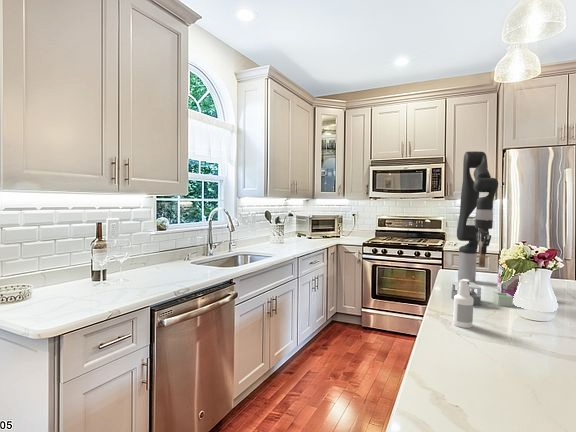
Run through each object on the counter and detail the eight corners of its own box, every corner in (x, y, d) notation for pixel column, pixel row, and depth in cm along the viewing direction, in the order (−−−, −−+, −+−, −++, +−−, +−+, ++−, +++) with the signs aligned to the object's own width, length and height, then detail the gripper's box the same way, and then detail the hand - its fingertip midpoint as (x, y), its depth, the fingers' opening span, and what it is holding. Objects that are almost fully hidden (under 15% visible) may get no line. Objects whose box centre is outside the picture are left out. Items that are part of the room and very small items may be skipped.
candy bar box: (501, 296, 179) (502, 264, 178) (496, 293, 184) (498, 262, 183) (524, 297, 178) (526, 265, 177) (519, 294, 183) (521, 263, 181)
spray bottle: (464, 329, 135) (466, 282, 134) (449, 323, 141) (451, 278, 140) (476, 326, 138) (478, 280, 137) (460, 320, 144) (462, 277, 143)
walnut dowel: (478, 266, 178) (479, 240, 177) (483, 266, 177) (484, 240, 176) (480, 267, 175) (481, 240, 174) (485, 267, 175) (486, 241, 174)
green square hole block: (493, 301, 170) (493, 292, 170) (506, 302, 169) (507, 293, 169) (498, 305, 164) (498, 295, 164) (512, 306, 163) (512, 296, 163)
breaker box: (451, 297, 176) (451, 281, 175) (472, 298, 174) (473, 282, 174) (457, 303, 166) (458, 286, 166) (480, 305, 165) (481, 287, 164)
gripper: (471, 217, 182) (469, 251, 183) (481, 219, 168) (479, 255, 169) (486, 217, 181) (485, 251, 182) (498, 219, 167) (496, 256, 168)
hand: (482, 253), depth 176 cm, fingers closed on walnut dowel, 2 cm apart
